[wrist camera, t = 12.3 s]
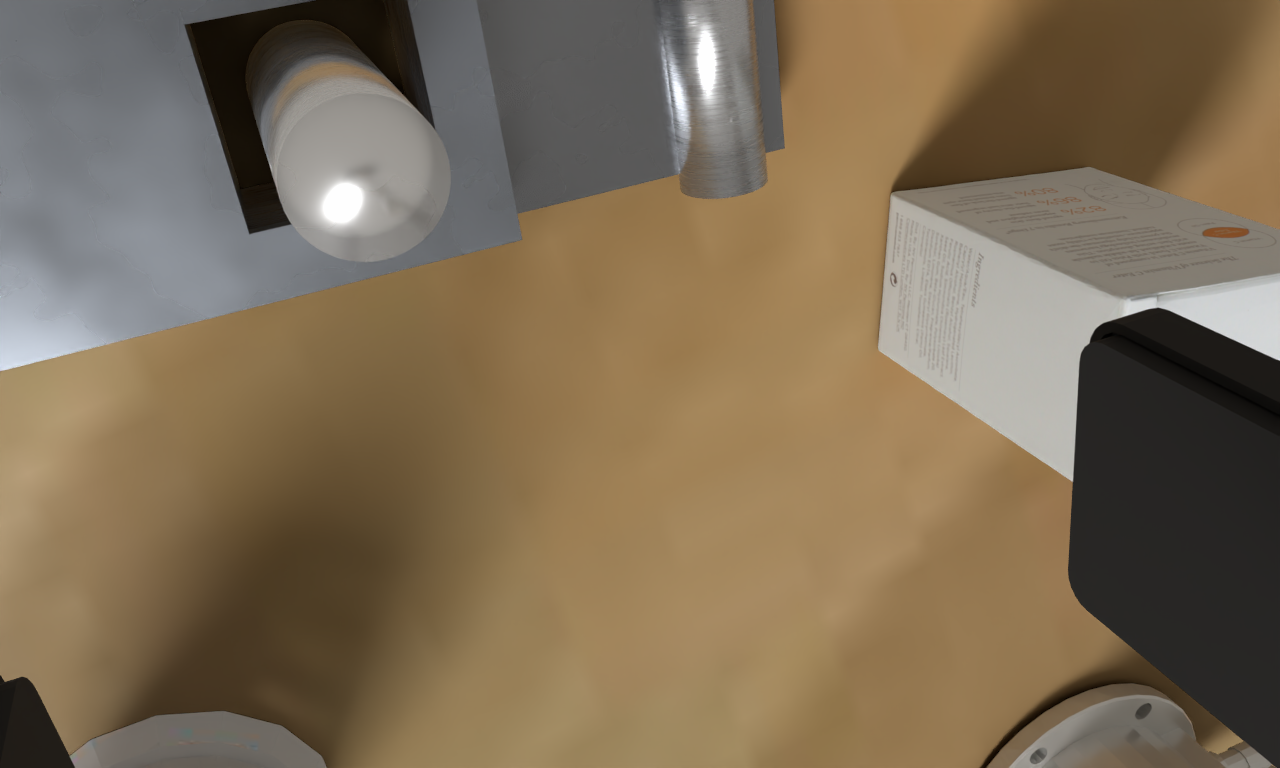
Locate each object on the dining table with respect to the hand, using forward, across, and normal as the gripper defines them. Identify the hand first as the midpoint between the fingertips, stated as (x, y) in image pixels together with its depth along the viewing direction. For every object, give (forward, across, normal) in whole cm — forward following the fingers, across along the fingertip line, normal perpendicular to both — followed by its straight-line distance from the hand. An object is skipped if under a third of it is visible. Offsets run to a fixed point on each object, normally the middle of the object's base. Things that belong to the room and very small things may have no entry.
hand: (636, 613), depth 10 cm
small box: (+23, -20, +9) cm, 31 cm away
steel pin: (+22, 0, -1) cm, 22 cm away
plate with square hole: (+22, 0, -1) cm, 22 cm away
